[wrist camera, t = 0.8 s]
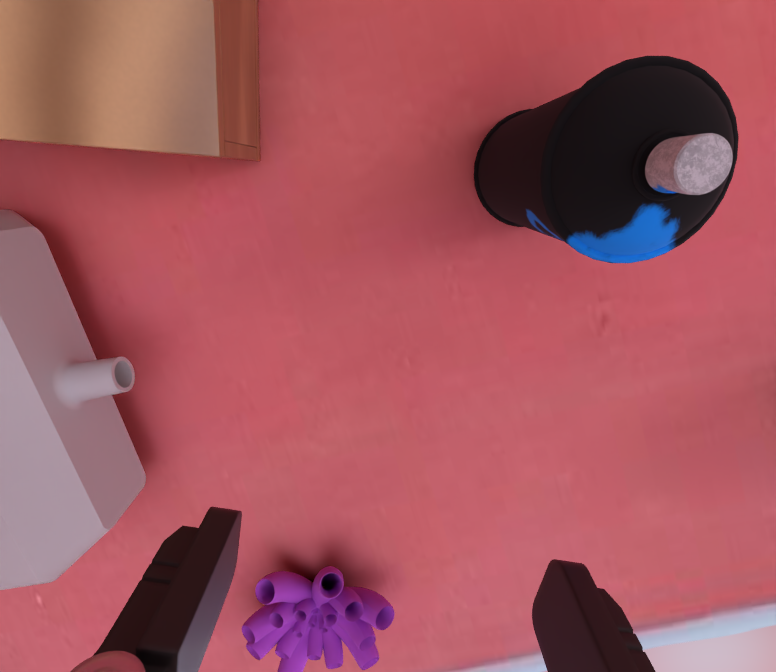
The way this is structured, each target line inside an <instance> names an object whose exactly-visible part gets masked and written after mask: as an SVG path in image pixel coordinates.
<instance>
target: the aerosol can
mask: <svg viewBox="0 0 776 672" xmlns="http://www.w3.org/2000/svg"><path fill="white" fill-rule="evenodd" d="M737 151H738V131H737V124H736V117H735V114H734V111H733V109H732V106H731V103H730V100H729V98H728V97H727V95H726V94H725V92H724V91H723V89H722V88H721V86H720V85H719V83H718V82H717V81H716V80H715V79H714V78H713V77H711V76H710V75H709V74H708V73H707V72H706V71H705V70H703V69H701V68H700V67H698V66H696V65H694V64H692V63H690V62H688V61H685V60H681V59H677V58H673V57H669V56H644V57H639V58H634V59H629V60H625V61H623V62H621V63H618V64H616V65H614V66H611V67H609V68H607V69H605V70H603V71H602V72H600V73H599V74H597V75H596V76H595V77H593V78H592V79H590V80H589V81H587V82H586V83H585V84H584V85H583V86H582V87H581V88H579V89H577V90H575V91H573V92H570V93H568V94H566V95H564V96H561V97H559V98H557V99H555V100H552V101H550V102H548V103H546V104H543V105H541V106H539V107H537V108H534V109H528V110H523V111H518V112H516V113H514V114H511V115H509V116H507V117H506V118H504V119H503V120H501V121H500V122H498V123H497V124H496V125H495V126H494V127H493V128H492V129H491V130H490V131H489V133H488V134H487V136H486V137H485V139H484V140H483V142H482V144H481V146H480V148H479V150H478V153H477V157H476V161H475V166H474V181H475V188H476V191H477V194H478V197H479V199H480V201H481V202H482V204H483V206H484V207H485V208H486V210H487V211H488V212H489V213H490V214H491V215H492V216H494V217H495V218H496V219H498V220H499V221H501V222H504V223H506V224H508V225H512V226H517V227H527V228H529V229H532V230H535V231H537V232H540V233H543V234H545V235H548V236H551V237H553V238H556V239H559V240H562V241H564V242H566V243H567V244H568V245H570V246H571V247H572V248H574V249H575V250H576V251H578V252H579V253H581V254H584V255H586V256H588V257H590V258H592V259H595V260H600V261H604V262H609V263H633V262H638V261H643V260H649V259H651V258H654V257H657V256H659V255H662V254H665V253H667V252H669V251H670V250H672V249H674V248H675V247H677V246H679V245H681V244H682V243H684V242H685V241H686V240H687V239H689V238H690V237H691V236H692V235H694V234H695V233H696V232H697V231H698V230H699V229H700V228H701V227H702V226H703V225H704V224H705V223H706V222H707V220H708V219H709V218H710V217H711V216H712V215H713V213H714V212H715V210H716V209H717V207H718V205H719V204H720V202H721V201H722V199H723V198H724V196H725V193H726V191H727V189H728V186H729V184H730V182H731V179H732V176H733V172H734V168H735V164H736V160H737Z"/></svg>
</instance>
